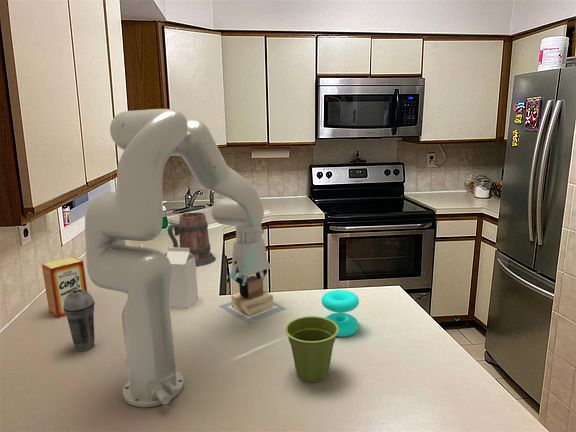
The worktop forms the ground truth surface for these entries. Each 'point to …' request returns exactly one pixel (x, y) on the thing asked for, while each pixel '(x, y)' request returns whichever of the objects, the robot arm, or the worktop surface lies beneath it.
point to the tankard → (193, 237)
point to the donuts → (342, 310)
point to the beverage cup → (80, 317)
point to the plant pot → (312, 346)
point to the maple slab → (252, 303)
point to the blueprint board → (254, 317)
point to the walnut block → (254, 287)
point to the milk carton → (182, 278)
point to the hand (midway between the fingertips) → (251, 293)
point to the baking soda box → (62, 282)
